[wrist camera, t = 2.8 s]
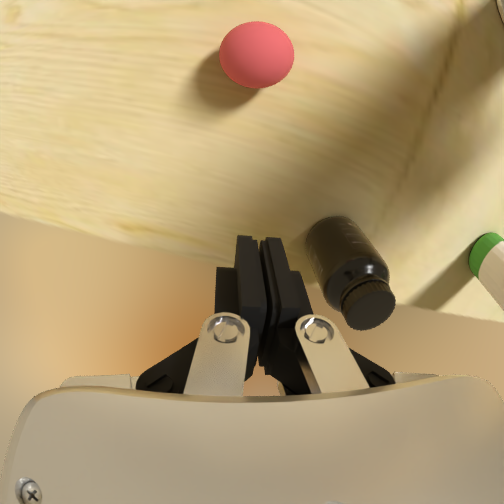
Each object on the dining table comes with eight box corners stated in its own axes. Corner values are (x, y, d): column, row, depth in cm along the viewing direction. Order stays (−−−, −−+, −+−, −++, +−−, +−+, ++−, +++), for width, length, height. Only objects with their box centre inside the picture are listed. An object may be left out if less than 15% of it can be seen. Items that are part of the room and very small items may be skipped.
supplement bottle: (340, 271, 36) (374, 344, 26) (293, 254, 34) (317, 332, 24) (370, 226, 33) (419, 292, 23) (323, 204, 31) (365, 271, 21)
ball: (259, 17, 20) (266, 0, 15) (300, 64, 23) (317, 60, 18) (207, 54, 22) (200, 46, 17) (248, 100, 24) (253, 104, 19)
